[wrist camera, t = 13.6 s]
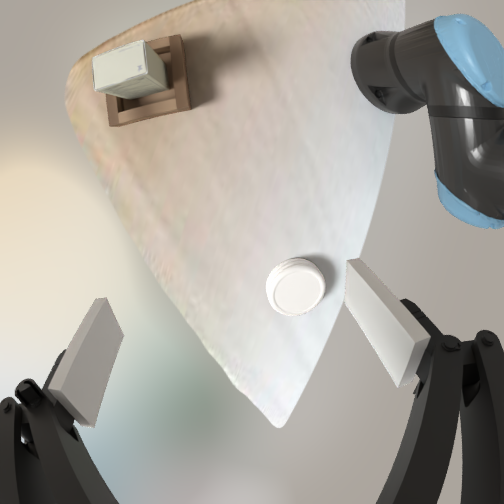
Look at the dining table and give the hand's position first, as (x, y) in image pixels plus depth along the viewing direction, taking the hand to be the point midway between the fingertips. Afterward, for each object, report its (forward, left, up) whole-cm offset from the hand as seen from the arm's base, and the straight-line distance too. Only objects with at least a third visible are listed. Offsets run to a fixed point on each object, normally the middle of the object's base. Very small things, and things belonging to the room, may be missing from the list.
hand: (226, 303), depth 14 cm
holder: (+8, -18, -28) cm, 35 cm away
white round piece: (-10, +18, -29) cm, 35 cm away
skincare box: (+8, -18, -28) cm, 34 cm away
